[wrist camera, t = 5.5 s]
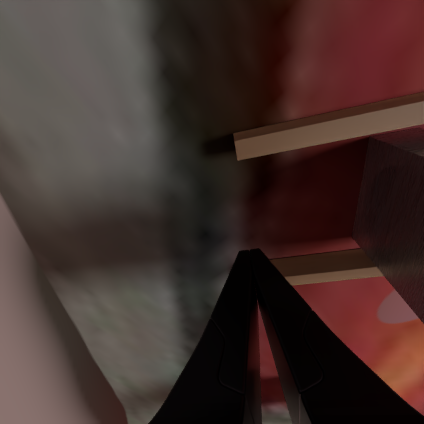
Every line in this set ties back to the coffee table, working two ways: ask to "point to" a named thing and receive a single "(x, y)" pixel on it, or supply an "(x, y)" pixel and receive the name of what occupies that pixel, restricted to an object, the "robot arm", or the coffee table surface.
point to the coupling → (394, 212)
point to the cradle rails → (319, 134)
